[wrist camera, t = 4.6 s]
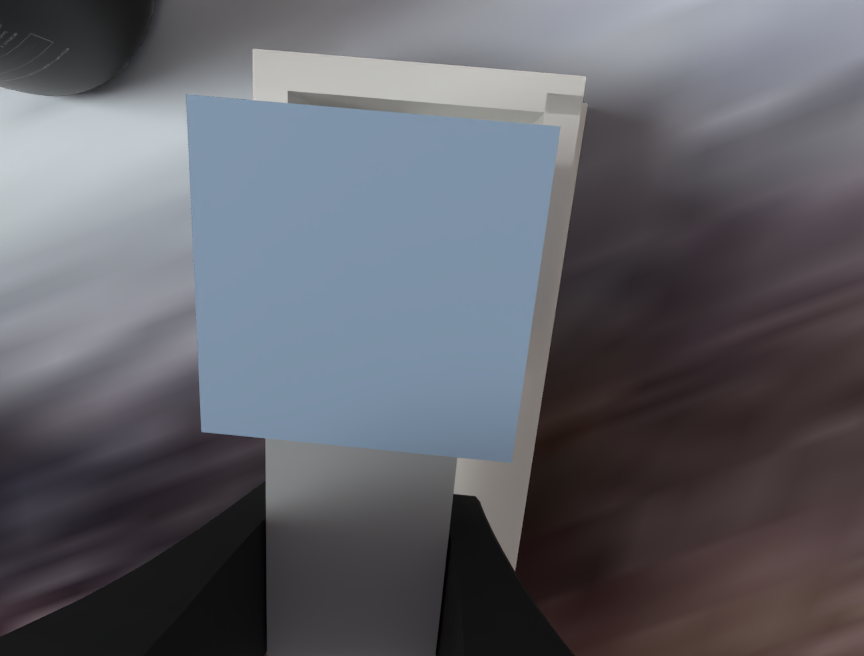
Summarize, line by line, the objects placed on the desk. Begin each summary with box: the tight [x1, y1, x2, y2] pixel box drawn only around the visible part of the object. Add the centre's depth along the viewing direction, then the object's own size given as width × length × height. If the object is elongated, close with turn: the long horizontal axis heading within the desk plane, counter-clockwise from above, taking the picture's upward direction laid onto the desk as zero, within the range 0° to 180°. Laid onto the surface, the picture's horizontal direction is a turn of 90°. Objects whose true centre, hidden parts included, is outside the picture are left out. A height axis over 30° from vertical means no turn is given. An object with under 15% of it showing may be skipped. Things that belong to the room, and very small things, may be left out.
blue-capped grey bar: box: [186, 94, 561, 656], centre depth 10 cm, size 18×4×4 cm, turn 175°
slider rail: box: [252, 49, 588, 656], centre depth 15 cm, size 21×9×4 cm, turn 175°
